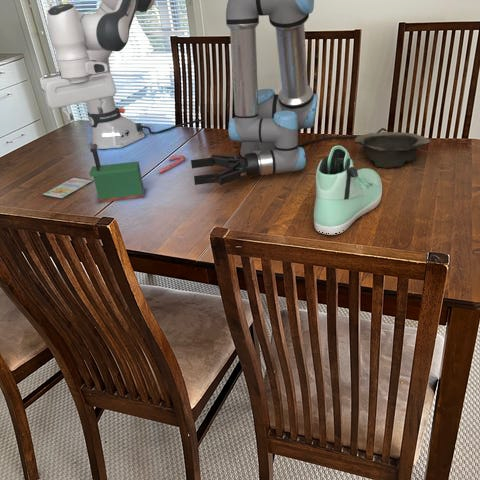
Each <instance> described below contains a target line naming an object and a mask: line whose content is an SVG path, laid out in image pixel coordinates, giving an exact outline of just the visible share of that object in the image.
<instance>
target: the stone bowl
mask: <svg viewBox="0 0 480 480" xmlns="http://www.w3.org/2000/svg"><path fill="white" fill-rule="evenodd" d="M359 135H360V136H358V137H354V144H357V145H359V146H362V147H363V153H364V155H366V157H367V158H368V160H371V161H373V165H374V167H376V168H382V169H383V168H384V169H386V168H387V169H389V168H393V167H396V168H398V167H402V166H404V165H405V164H406V162H414V161H415V160H416V157H417V151H418V148H421V147H424V146H426V145H428V144H430V143H431V140H430V139H429V138H427V137H425V136H423V135H420V134H417V133H416V134H415V133H413V132H400V131H399V132H398V131H381V132H379V133H377V132H369V133H365V134H359Z"/></svg>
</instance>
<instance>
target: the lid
mask: <svg viewBox="0 0 480 480" xmlns="http://www.w3.org/2000/svg"><path fill="white" fill-rule="evenodd" d="M97 147H98V146H97V144H93V145H92V144H91V147H90V150H89V151H90V152H91V153H92V156H93V159H94V164H95V165H93V166H91V169H90V171H89V177H93V176H99V175H109V174H118V173H127V172H136V171H138V168H139V166H140V161H139V160H138V161H130V162H119V163H110V164H103V165H101V162H100V157H99V153H98V150H97Z"/></svg>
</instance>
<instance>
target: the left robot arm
mask: <svg viewBox="0 0 480 480" xmlns="http://www.w3.org/2000/svg"><path fill="white" fill-rule="evenodd" d="M155 3H156V0H101V2H100V4H99V5H98V8H97V9H96V12H95V13H90V14H89V13H87V14H85V13H82V12H80V11H78V10H77V8H76V6H75V5H74V4H71V3H61V4H57V5H54V6H52V7H50V8H49V9H48V10H47V13H46V19H47V28H48V33H49V37H50V41H51V44H52V46H53V48H54V51H55V60H56V64H57V69H58V71H55V72H51V73H45V74H43V76H41V77H40V79H39V85H40V88H41V90H42V91H43V96H44V102H45V105H46V106H47V107H48V108H49V109H52V110H53V109H59V108H60V111H62V112H63V113H64V114H65V116H66V119H67V121H68V122H73V121H75V118H74V115H73V113H72V112H70V113H69V112H68V111H67V110H68V106H73V105H77V104H82V103H85V104H86V109H87V118H88V122H89V125H90V127H91V128H90V129H91V137H92V138H91V140H92V141H91V146H92V145H93V144H97V146H98V147H97V149H98V150H107V149H121V148H122V149H123V148H124V147H127V146H128V145H131V144H132V143H135V142H137V141H139V140H141V139H143V138H145V137H146V135H145V133H144V129H147V130H148V132H149V134H151V135H157V134H161V133H164V132H169V131H171V130H173V129H175V128H179V127H183V126H187V125H191V124H195V123H199V122H200V123H205V120H203V119H199V118H197V119H195V120H191V121H187V122H184V123H178V124H175V125H173V126H170V127H168V128H163V129H161V130H158V131H152V129H151V128H150V127H149V126H148V125H142V124H141V123H140V122H139V123H135V122H134V121H133V120H131V119H129V118H127V117H125V116H123V115H122V114H125V112H126V109H125V108H124V107H123V108H122V107H117V106H116V103H115V97H114V96H115V95H116V93H117V88H116V84H115V80H114V78H113V75H112V74H111V67H110V66H111V65H110V60H109V59H110V57H111V55H112V53H113V52H121V51H122V50H123V49H124V48H125V47H126V46H127V44H128V42H129V39H130V29H131V26H132V23H133V21H134V18H135V15H136V13H137V12H138V13H146V12H148V11H149V10H151V8H153V6H154V5H155Z"/></svg>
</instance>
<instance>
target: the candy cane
mask: <svg viewBox="0 0 480 480" xmlns="http://www.w3.org/2000/svg"><path fill="white" fill-rule="evenodd" d="M174 160H175V161H174ZM185 160H186V157H185V155H182V154H175V155H172V156H170V157H169V161H170V162H171V163H169V164H167V165H166V166H163V167H162V168H160V169H159V170H158V173H159V174H162V173H164V172H166V171H168V170H170V169H172V168H174V167H176V166H178V165H179V164H181V163H184V162H185ZM172 161H173V162H172Z"/></svg>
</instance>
